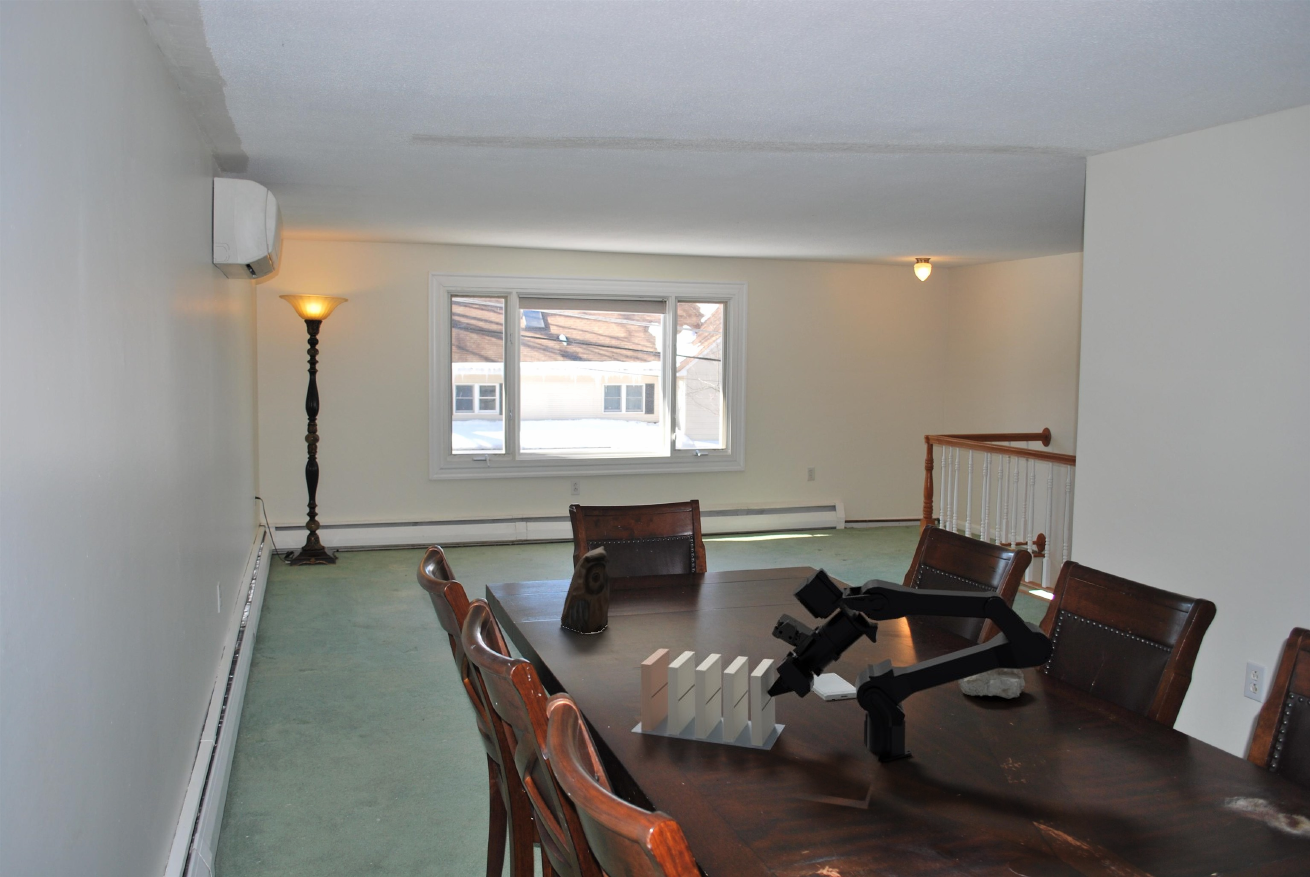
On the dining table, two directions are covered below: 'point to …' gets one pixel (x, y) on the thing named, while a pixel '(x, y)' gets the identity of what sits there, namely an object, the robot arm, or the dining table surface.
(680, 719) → the domino
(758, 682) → the domino
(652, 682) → the domino
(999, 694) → the rock
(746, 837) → the dining table surface
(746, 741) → the board
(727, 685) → the domino
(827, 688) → the hard drive
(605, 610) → the owl
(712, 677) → the domino
